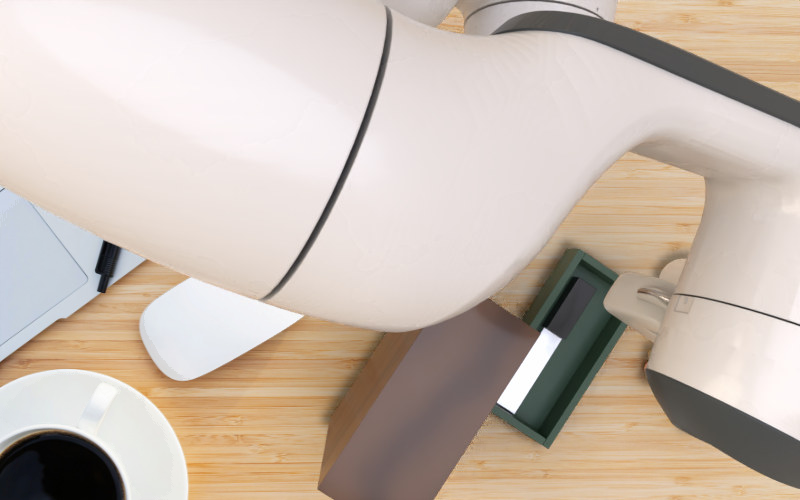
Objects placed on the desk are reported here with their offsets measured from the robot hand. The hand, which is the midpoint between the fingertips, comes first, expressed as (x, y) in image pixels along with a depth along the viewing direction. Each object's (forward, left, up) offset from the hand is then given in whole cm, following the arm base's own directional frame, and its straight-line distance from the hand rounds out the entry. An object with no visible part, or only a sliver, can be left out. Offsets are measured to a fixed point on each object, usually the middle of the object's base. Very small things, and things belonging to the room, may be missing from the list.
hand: (669, 342), depth 52 cm
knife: (-1, -6, -24) cm, 24 cm away
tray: (0, -5, -25) cm, 25 cm away
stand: (-15, -18, -25) cm, 34 cm away
